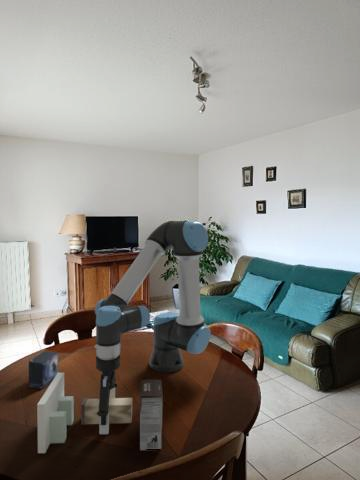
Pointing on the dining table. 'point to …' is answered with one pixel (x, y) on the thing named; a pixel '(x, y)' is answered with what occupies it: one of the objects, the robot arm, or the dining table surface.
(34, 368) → the small box
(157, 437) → the coffee box
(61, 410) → the base plate with tabs
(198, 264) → the robot arm
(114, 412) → the rail
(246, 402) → the dining table surface
